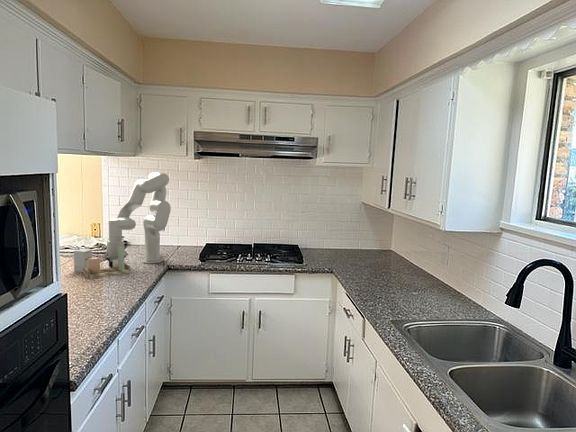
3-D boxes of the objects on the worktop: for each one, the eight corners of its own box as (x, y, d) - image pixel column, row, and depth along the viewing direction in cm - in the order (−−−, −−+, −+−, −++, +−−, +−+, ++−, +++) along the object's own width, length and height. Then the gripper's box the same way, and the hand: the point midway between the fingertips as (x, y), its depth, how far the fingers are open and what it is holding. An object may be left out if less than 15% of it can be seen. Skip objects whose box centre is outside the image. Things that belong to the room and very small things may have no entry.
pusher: (123, 268, 253) (123, 245, 252) (127, 271, 248) (127, 247, 246) (118, 269, 251) (117, 246, 250) (122, 272, 245) (122, 248, 244)
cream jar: (119, 266, 260) (119, 255, 259) (122, 268, 256) (121, 257, 255) (110, 267, 257) (109, 256, 256) (112, 269, 252) (112, 258, 252)
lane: (124, 268, 255) (124, 262, 255) (130, 272, 247) (130, 265, 247) (83, 274, 240) (82, 267, 239) (87, 278, 232) (87, 271, 231)
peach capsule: (98, 273, 243) (98, 256, 242) (101, 275, 239) (101, 258, 237) (86, 274, 239) (86, 257, 238) (89, 277, 234) (89, 260, 233)
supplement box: (84, 272, 244) (84, 251, 242) (73, 271, 245) (73, 250, 244) (92, 269, 251) (92, 249, 249) (82, 268, 252) (81, 248, 251)
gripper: (127, 236, 262) (127, 264, 265) (99, 238, 251) (99, 267, 254) (131, 238, 257) (131, 266, 259) (102, 240, 246) (103, 270, 248)
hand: (116, 266), depth 256 cm, fingers closed on cream jar, 5 cm apart
